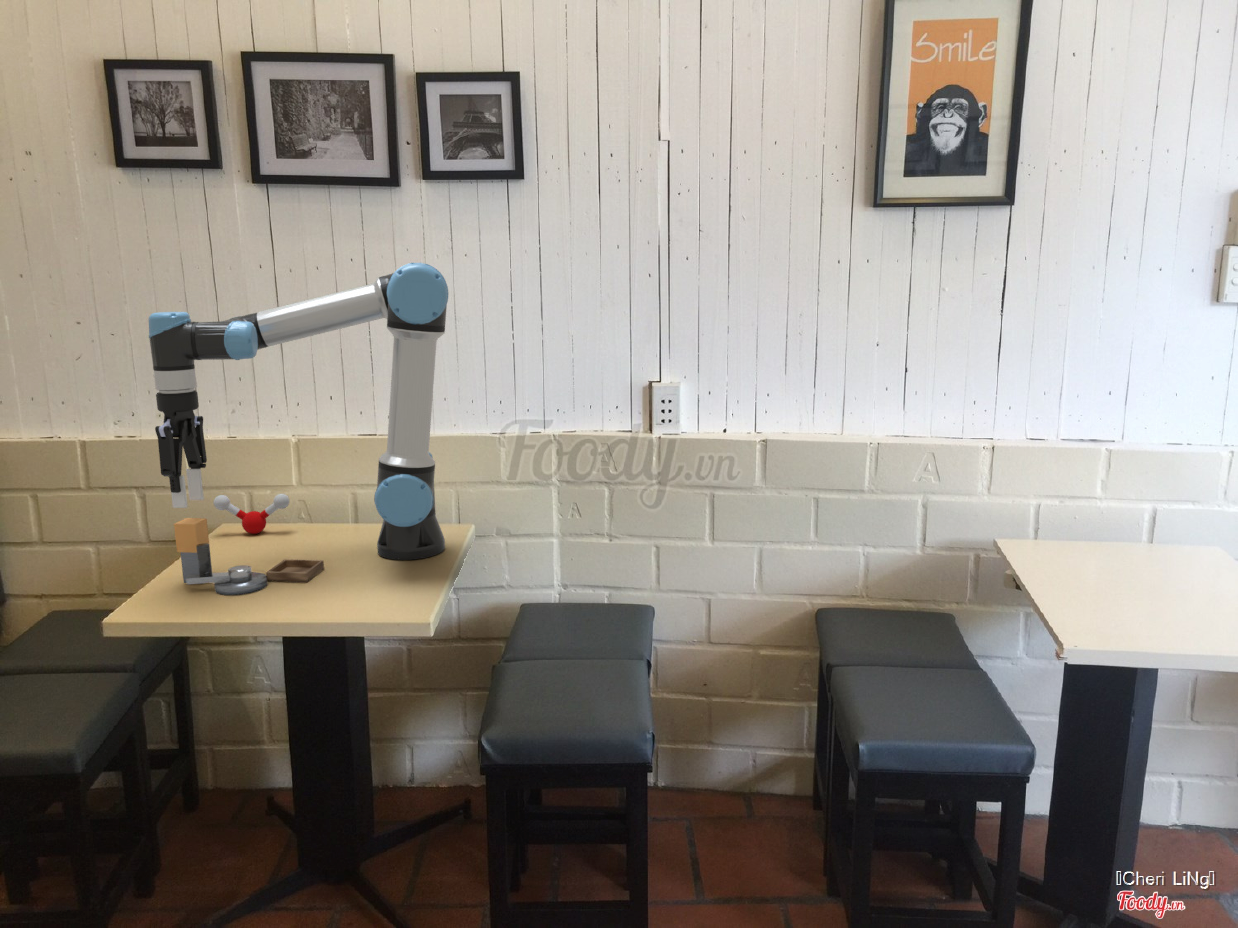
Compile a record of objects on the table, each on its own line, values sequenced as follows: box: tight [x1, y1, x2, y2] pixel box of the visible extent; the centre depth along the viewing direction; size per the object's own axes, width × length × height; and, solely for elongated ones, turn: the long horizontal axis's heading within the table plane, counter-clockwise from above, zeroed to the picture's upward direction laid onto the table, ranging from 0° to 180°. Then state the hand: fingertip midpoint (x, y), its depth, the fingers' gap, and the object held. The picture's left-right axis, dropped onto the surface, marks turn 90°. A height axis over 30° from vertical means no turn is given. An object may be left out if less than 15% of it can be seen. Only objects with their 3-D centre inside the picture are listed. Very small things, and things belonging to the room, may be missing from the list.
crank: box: [186, 543, 253, 585], centre depth 190 cm, size 12×4×8 cm, turn 103°
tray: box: [265, 558, 325, 584], centre depth 198 cm, size 9×9×2 cm
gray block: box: [179, 552, 204, 585], centre depth 194 cm, size 4×3×7 cm
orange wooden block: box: [173, 517, 210, 553], centre depth 193 cm, size 4×4×6 cm
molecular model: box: [213, 493, 290, 535], centre depth 228 cm, size 18×6×10 cm, turn 102°
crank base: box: [211, 571, 268, 596], centre depth 192 cm, size 10×10×2 cm
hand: (188, 503), depth 192 cm, fingers open, 5 cm apart
